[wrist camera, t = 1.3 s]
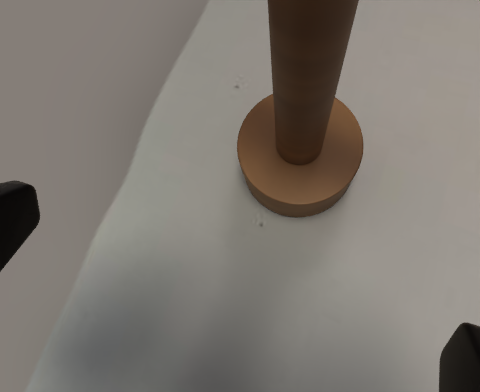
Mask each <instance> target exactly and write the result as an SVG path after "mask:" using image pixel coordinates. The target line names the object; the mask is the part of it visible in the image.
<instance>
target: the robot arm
mask: <svg viewBox="0 0 480 392" xmlns="http://www.w3.org/2000/svg"><path fill="white" fill-rule="evenodd" d="M39 220H40V212H39V206H38V200H37V194H36V190H35V188H34V187H33V186H32V185H29V184H26V183H23V182H20V181H10V182H5V183H0V271H1V270H2V269H3V268H4V266H5V265H6V264H7V263H8V261H9V260H10V259H11V258H12V256H13V255H14V254H15V253H16V251H17V250H18V249H19V248H20V247H21V245H22V244H23V243H24V241H25V240H26V239H27V238H28V236H29V235H30V234H31V233H32V231H33V230H34V229H35V228H36V226H37V225H38V223H39ZM439 392H480V326H477V325H473V324H470V323H462V324H460V325H459V327H458V328H457V329H456V331H455V332H454V334H453V335H452V337H451V338H450V340H449V341H448V343H447V344H446V346H445V347H444V349H443V351H442V353H441V357H440V372H439Z"/></svg>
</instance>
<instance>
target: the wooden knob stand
mask: <svg viewBox="0 0 480 392" xmlns="http://www.w3.org/2000/svg"><path fill="white" fill-rule="evenodd" d="M358 1H359V0H268V13H269V30H270V47H271V65H272V82H273V94H272V95H270V96H268V97H266V98H265V99H263V100H262V101H260V102H259V103H258V104H257V105H256V106H255V107H254V108H253V109H252V110H251V111H250V112H249V113H248V115H247V116H246V118H245V120H244V121H243V123H242V126H241V128H240V131H239V135H238V142H237V152H238V159H239V162H240V166H241V169H242V172H243V174H244V177H245V180H246V183H247V185H248V188H249V190H250V191H251V193H252V194H253V196H254V197H255V198H256V199H257V200H258V201H259V202H260V203H261V204H262V205H263V206H265V207H266V208H268V209H269V210H271V211H273V212H275V213H278V214H281V215H284V216H289V217H306V216H312V215H315V214H318V213H321V212H323V211H325V210H327V209H328V208H330V207H332V206H333V205H334V204H335V203H336V202H337V201H338V200H339V199H340V198H341V197H342V196H343V194H344V193H345V192H346V190H347V188H348V187H349V185H350V183H351V181H352V180H353V178H354V176H355V174H356V172H357V170H358V168H359V166H360V163H361V160H362V155H363V137H362V133H361V129H360V126H359V124H358V122H357V120H356V118H355V116H354V115H353V114H352V112H351V111H350V110H349V109H348V108H347V107H346V106H345V105H344V104H343V103H342V102H341V101H340V100H338V99H337V98H335V94H336V90H337V86H338V82H339V78H340V74H341V70H342V65H343V61H344V57H345V53H346V49H347V45H348V41H349V37H350V33H351V29H352V25H353V21H354V17H355V13H356V9H357V5H358Z"/></svg>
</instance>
